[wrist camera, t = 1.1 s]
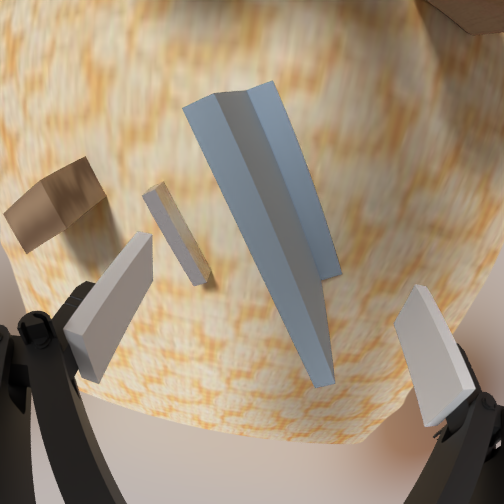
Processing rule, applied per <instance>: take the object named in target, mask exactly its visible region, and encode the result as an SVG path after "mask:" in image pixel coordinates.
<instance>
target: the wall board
mask: <svg viewBox="0 0 504 504" xmlns="http://www.w3.org/2000/svg"><path fill="white" fill-rule="evenodd" d="M182 109H183V111H184V113H185V115H186V118H187V120H188V122H189V124H190V126H191V128H192V130H193V132H194V135H195V137H196V139H197V141H198V143H199V145H200V147H201V149H202V151H203V154H204V156H205V158H206V160H207V162H208V164H209V166H210V168H211V170H212V173H213V175H214V177H215V179H216V181H217V183H218V185H219V187H220V189H221V191H222V194H223V196H224V198H225V200H226V202H227V204H228V206H229V208H230V210H231V213H232V215H233V217H234V219H235V221H236V223H237V225H238V227H239V229H240V231H241V234H242V236H243V238H244V240H245V242H246V244H247V246H248V248H249V250H250V253H251V255H252V257H253V259H254V261H255V263H256V265H257V267H258V269H259V271H260V274H261V276H262V278H263V280H264V282H265V284H266V286H267V288H268V290H269V292H270V295H271V297H272V299H273V301H274V303H275V305H276V307H277V309H278V311H279V313H280V316H281V318H282V320H283V322H284V324H285V326H286V328H287V330H288V332H289V334H290V337H291V339H292V341H293V343H294V345H295V347H296V349H297V351H298V353H299V355H300V357H301V360H302V362H303V364H304V366H305V368H306V370H307V372H308V374H309V376H310V378H311V381H312V383H313V385H314V387H315V388H318V387H323V386H327V385H331V384H335V377H334V368H333V360H332V352H331V344H330V336H329V329H328V322H327V315H326V308H325V302H324V295H323V289H322V283H321V280H324V279H327V278H330V277H334V276H337V275H340V274H342V272H341V268H340V265H339V262H338V258H337V255H336V251H335V248H334V245H333V242H332V238H331V235H330V232H329V229H328V226H327V223H326V220H325V217H324V214H323V211H322V208H321V205H320V202H319V199H318V196H317V193H316V190H315V187H314V184H313V181H312V179H311V176H310V173H309V170H308V168H307V165H306V162H305V159H304V157H303V154H302V151H301V149H300V146H299V143H298V141H297V138H296V136H295V133H294V131H293V128H292V126H291V123H290V121H289V118H288V116H287V113H286V111H285V108H284V106H283V103H282V101H281V99H280V96H279V94H278V92H277V89H276V87H275V85H274V82H273V81H270V82H267V83H264V84H262V85H259V86H256V87H254V88H251V89H249V90H245V91H232V92H221V93H213V94H211V95H209V96H207V97H204V98H202V99H200V100H198V101H196V102H194V103H192V104H190V105H188V106H186V107H184V108H182Z"/></svg>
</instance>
